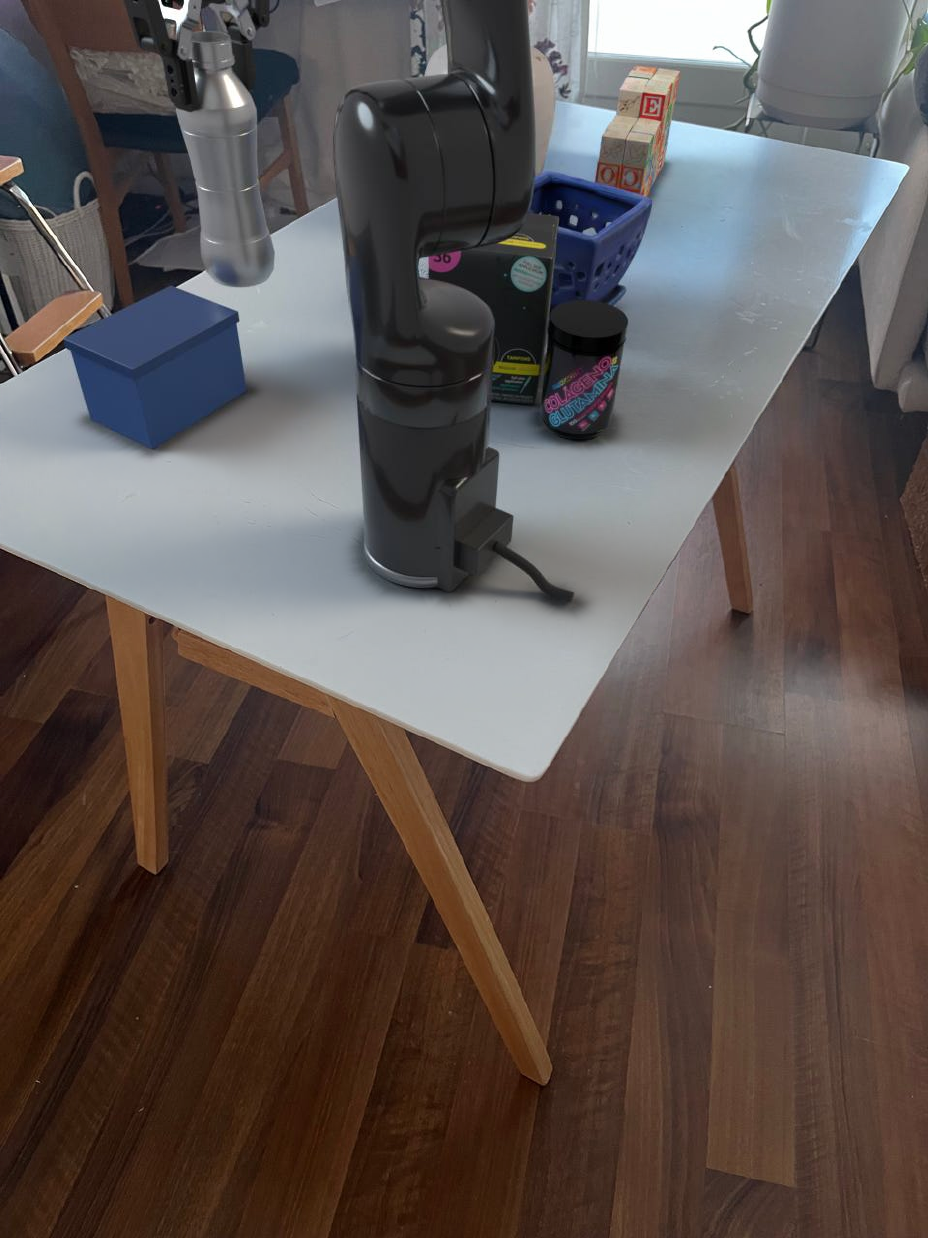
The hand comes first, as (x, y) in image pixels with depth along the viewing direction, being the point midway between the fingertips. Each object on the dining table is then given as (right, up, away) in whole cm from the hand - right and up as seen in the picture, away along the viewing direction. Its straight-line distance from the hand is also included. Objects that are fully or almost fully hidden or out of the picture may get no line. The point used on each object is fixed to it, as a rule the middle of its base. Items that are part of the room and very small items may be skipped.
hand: (215, 98), depth 77 cm
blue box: (-7, -23, +10) cm, 26 cm away
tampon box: (+23, -19, +16) cm, 34 cm away
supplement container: (+31, -25, +10) cm, 41 cm away
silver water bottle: (-1, -11, +11) cm, 16 cm away
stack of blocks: (+43, +17, +52) cm, 70 cm away
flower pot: (+31, -9, +26) cm, 41 cm away
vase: (+23, +8, +43) cm, 49 cm away
